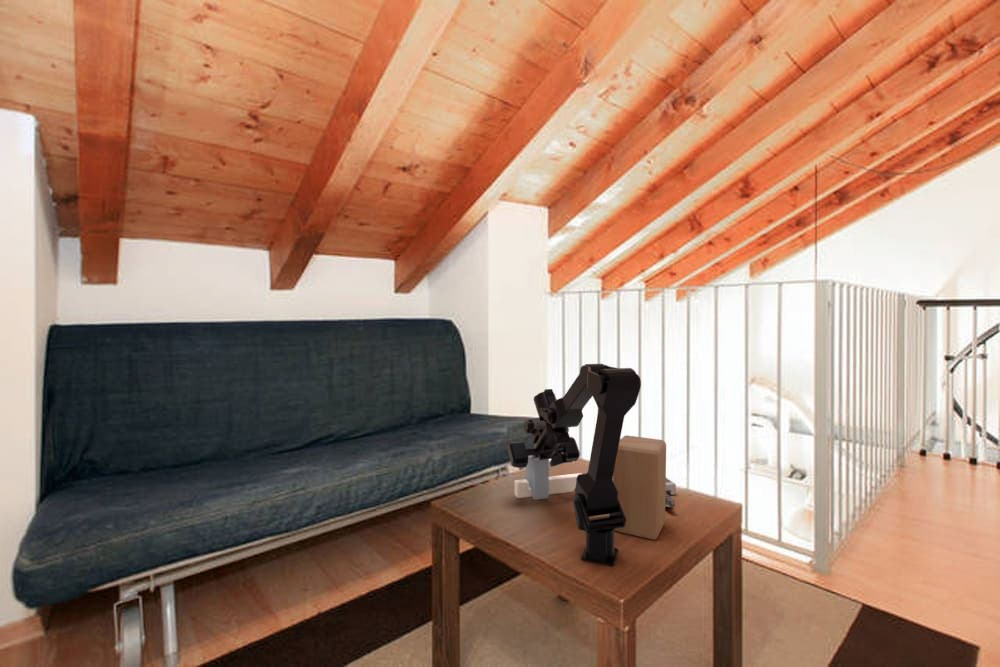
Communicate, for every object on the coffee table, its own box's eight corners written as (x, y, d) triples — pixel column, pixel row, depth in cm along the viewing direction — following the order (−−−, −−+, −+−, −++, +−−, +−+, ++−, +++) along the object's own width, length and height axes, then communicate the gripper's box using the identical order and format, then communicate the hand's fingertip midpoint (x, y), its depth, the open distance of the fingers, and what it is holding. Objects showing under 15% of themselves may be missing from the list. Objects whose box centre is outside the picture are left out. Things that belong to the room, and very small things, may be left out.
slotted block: (548, 498, 123) (548, 459, 123) (534, 499, 122) (534, 460, 121) (538, 488, 130) (539, 452, 129) (525, 490, 128) (525, 453, 128)
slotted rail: (584, 490, 129) (585, 475, 129) (517, 498, 123) (517, 483, 123) (580, 486, 131) (581, 473, 131) (514, 495, 125) (514, 480, 125)
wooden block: (623, 515, 113) (623, 433, 112) (665, 524, 108) (667, 439, 107) (611, 531, 104) (612, 443, 103) (657, 542, 99) (658, 450, 98)
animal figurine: (645, 502, 123) (644, 483, 124) (662, 502, 124) (660, 482, 125) (664, 513, 112) (663, 491, 112) (682, 512, 112) (681, 491, 113)
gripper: (575, 407, 124) (557, 438, 134) (509, 412, 118) (496, 443, 129) (589, 444, 116) (569, 473, 127) (519, 451, 111) (505, 480, 122)
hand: (535, 466), depth 126 cm, fingers open, 9 cm apart
